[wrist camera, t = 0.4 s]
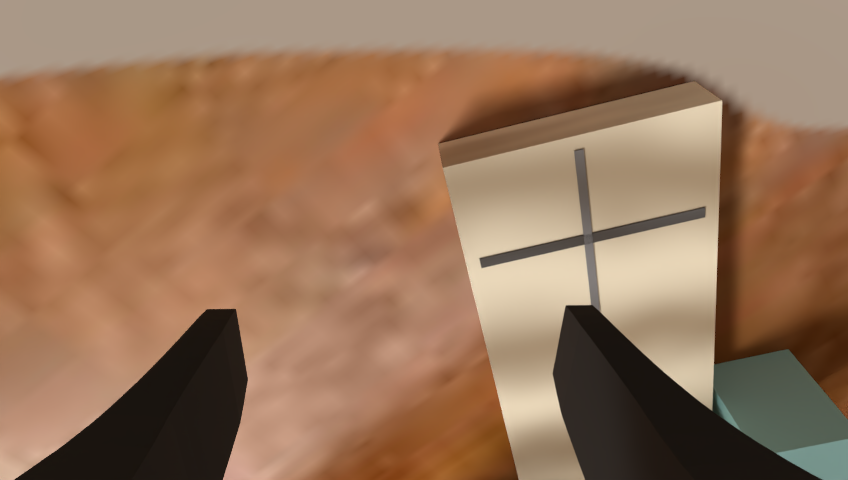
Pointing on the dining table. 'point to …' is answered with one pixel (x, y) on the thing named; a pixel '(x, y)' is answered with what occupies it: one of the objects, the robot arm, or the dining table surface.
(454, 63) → the dining table surface
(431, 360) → the dining table surface
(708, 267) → the board
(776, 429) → the teal cube mallet
